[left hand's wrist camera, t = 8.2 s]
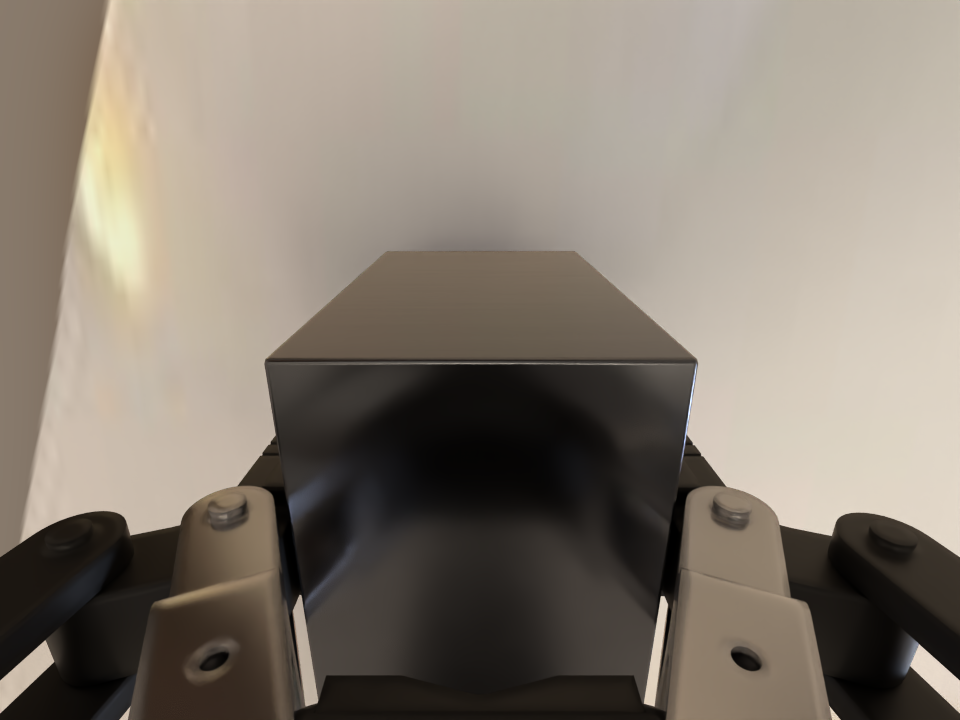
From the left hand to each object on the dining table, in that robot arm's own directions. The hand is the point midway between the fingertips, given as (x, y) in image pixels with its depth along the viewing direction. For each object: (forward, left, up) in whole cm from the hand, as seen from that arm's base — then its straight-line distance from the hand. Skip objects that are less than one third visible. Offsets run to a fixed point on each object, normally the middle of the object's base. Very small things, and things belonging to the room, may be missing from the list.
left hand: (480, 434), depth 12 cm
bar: (+8, 0, -5) cm, 10 cm away
